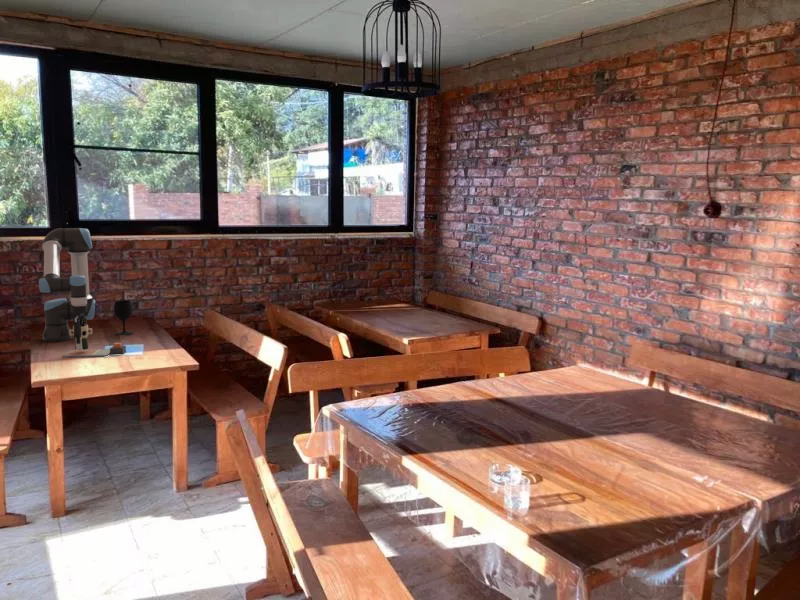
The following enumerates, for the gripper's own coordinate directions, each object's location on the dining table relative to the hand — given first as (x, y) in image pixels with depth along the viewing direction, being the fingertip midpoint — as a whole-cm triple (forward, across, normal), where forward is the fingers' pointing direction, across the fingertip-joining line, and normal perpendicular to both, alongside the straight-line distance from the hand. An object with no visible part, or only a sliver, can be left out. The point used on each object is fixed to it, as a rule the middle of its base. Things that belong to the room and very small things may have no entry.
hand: (81, 347), depth 338 cm
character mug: (+1, 0, 0) cm, 1 cm away
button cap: (+1, 0, +18) cm, 18 cm away
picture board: (+3, 0, +4) cm, 5 cm away
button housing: (+3, 0, +18) cm, 18 cm away
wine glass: (+4, -52, +8) cm, 53 cm away
